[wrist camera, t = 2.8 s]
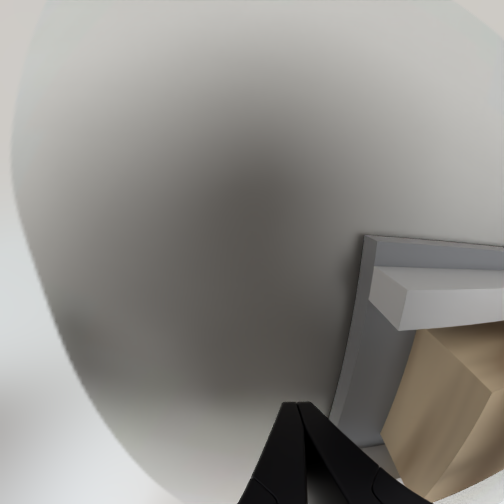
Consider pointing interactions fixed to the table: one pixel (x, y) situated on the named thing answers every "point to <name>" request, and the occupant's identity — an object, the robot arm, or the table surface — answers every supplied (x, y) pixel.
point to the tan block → (449, 410)
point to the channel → (407, 322)
